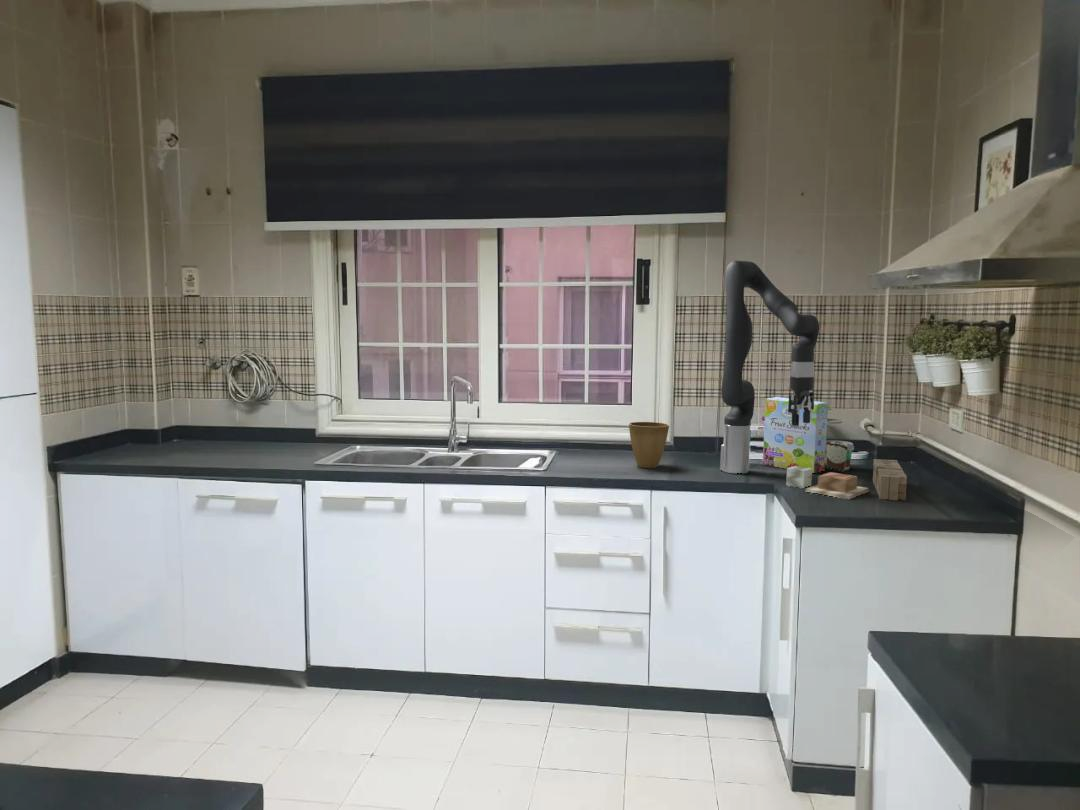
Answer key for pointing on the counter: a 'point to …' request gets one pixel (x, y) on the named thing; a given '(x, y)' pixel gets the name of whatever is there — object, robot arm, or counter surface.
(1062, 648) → the counter surface
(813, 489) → the base board
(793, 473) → the sage cube
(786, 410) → the snack box
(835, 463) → the food container
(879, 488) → the block tower
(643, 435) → the plant pot
